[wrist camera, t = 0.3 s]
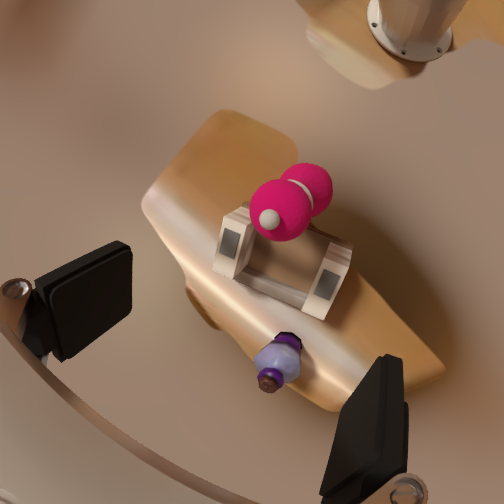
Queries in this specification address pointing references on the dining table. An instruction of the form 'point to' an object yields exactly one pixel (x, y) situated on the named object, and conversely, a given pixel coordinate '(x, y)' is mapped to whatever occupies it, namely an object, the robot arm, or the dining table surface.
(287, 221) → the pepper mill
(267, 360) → the potion bottle
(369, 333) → the dining table surface
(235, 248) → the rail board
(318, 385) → the dining table surface
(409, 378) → the dining table surface
